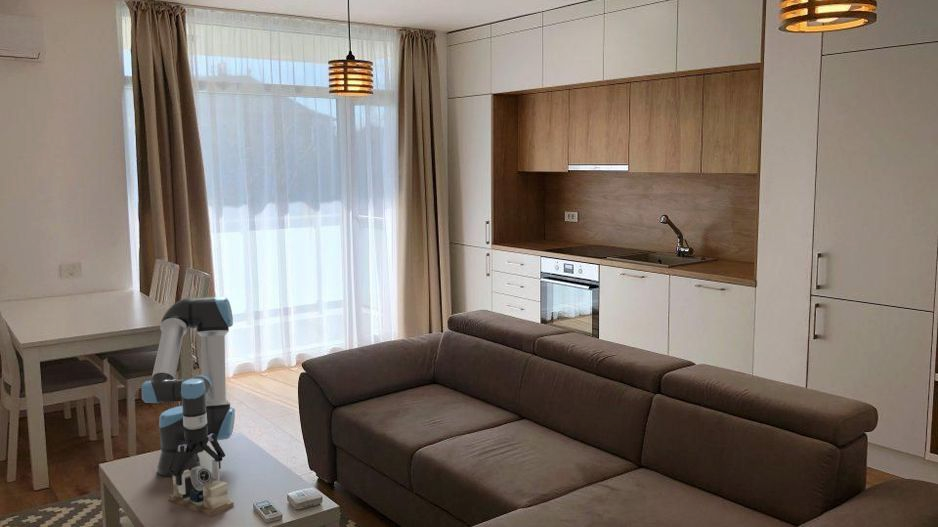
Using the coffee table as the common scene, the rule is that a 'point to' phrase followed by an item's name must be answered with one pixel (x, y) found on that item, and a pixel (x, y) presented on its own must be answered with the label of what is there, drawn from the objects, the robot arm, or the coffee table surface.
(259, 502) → the coffee table surface
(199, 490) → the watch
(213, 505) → the rail
